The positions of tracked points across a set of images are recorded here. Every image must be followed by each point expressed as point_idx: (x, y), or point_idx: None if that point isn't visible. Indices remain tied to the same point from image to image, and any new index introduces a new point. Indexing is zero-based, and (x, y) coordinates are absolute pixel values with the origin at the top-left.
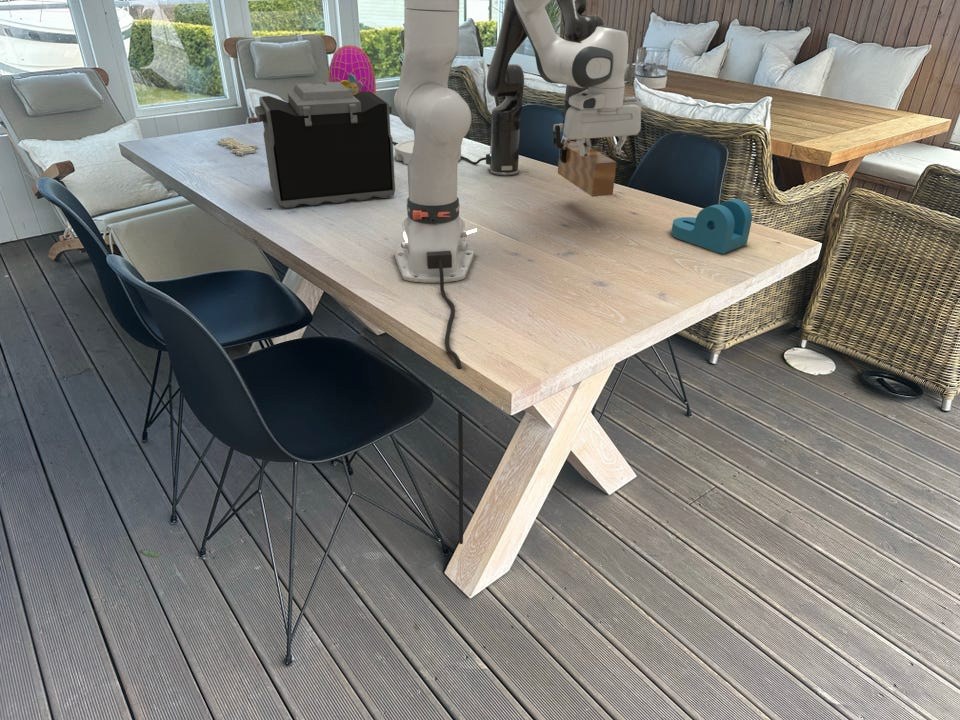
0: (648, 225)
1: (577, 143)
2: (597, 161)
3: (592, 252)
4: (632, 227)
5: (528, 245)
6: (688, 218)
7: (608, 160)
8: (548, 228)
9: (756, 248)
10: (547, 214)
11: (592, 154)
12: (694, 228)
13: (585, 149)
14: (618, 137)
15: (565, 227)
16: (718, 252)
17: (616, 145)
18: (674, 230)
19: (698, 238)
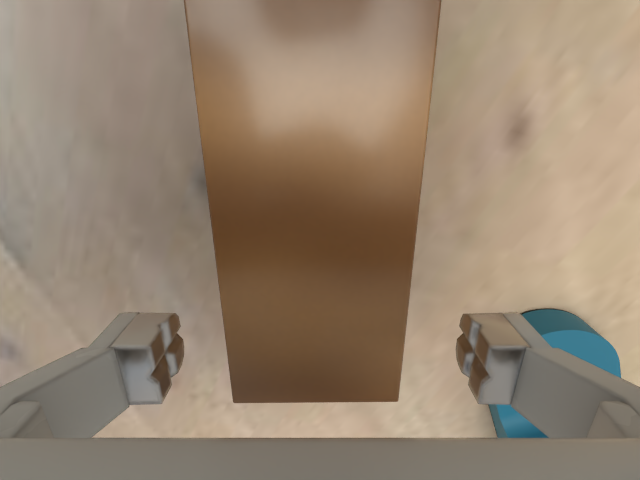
0: (480, 256)
1: (8, 390)
2: (268, 367)
3: (216, 384)
4: (420, 258)
5: (52, 307)
6: (580, 342)
7: (362, 362)
8: (142, 194)
9: None
10: (176, 35)
11: (323, 169)
12: (507, 437)
13: (133, 399)
14: (600, 429)
15: (204, 200)
16: None
17: (523, 357)
18: None
19: (499, 429)
